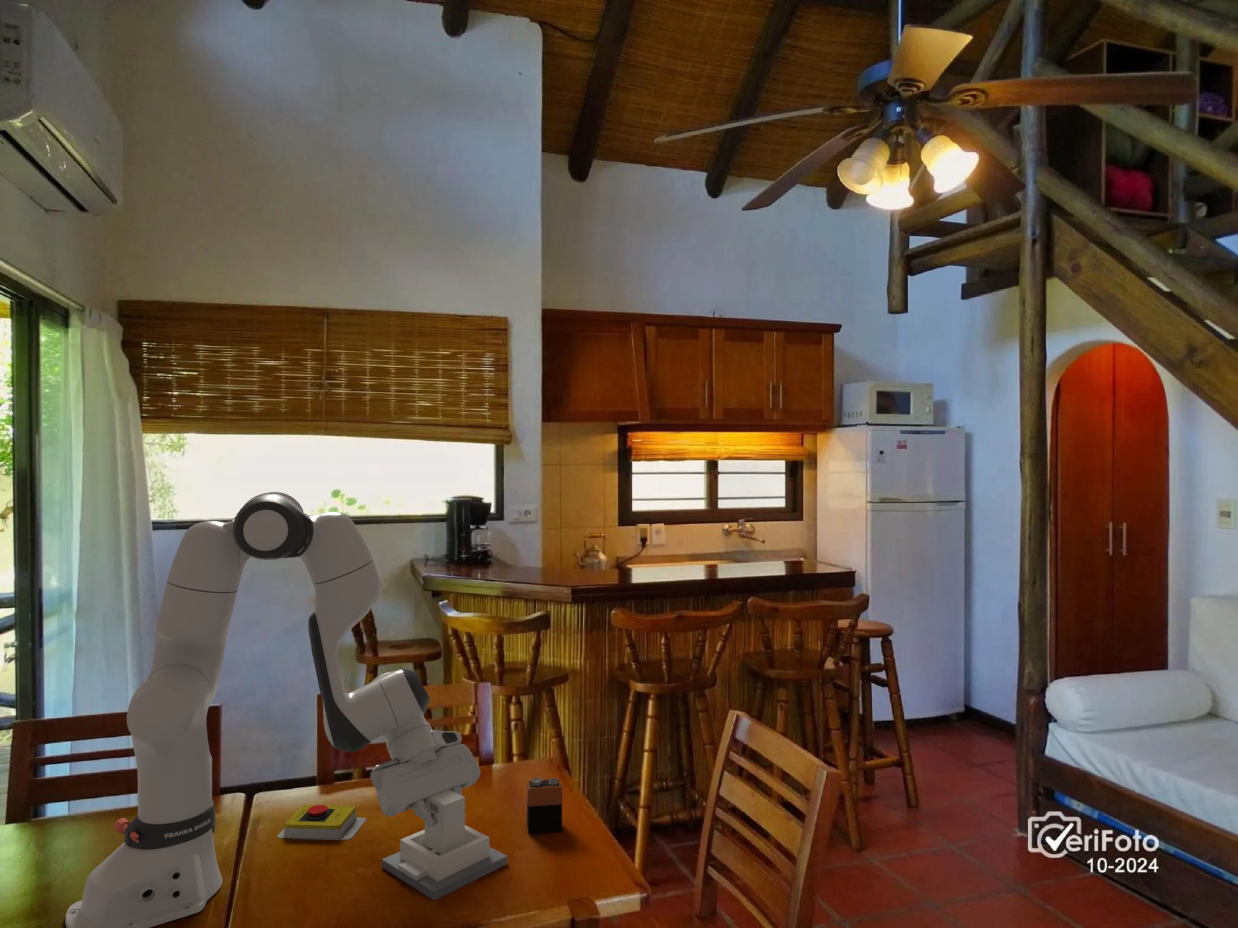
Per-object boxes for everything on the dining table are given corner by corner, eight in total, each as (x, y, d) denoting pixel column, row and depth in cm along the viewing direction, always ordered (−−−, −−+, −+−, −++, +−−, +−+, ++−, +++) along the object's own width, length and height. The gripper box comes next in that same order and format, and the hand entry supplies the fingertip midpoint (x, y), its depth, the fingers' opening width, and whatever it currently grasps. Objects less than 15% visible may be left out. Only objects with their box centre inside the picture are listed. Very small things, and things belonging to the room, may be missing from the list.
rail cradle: (434, 900, 132) (434, 870, 132) (381, 867, 143) (382, 839, 143) (507, 863, 144) (507, 836, 144) (453, 835, 155) (454, 810, 155)
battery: (526, 824, 160) (526, 775, 159) (559, 822, 161) (560, 773, 161) (528, 835, 155) (528, 784, 155) (562, 832, 157) (562, 782, 156)
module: (444, 855, 140) (444, 805, 140) (424, 844, 144) (424, 795, 144) (464, 845, 143) (465, 796, 143) (445, 835, 147) (445, 787, 147)
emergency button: (296, 797, 163) (367, 799, 162) (296, 818, 163) (367, 820, 162) (274, 818, 153) (350, 820, 153) (274, 840, 154) (350, 842, 153)
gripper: (373, 759, 140) (404, 831, 134) (466, 729, 155) (497, 793, 149) (360, 777, 143) (389, 848, 137) (452, 746, 158) (482, 809, 152)
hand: (446, 819), depth 143 cm, fingers closed on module, 4 cm apart
